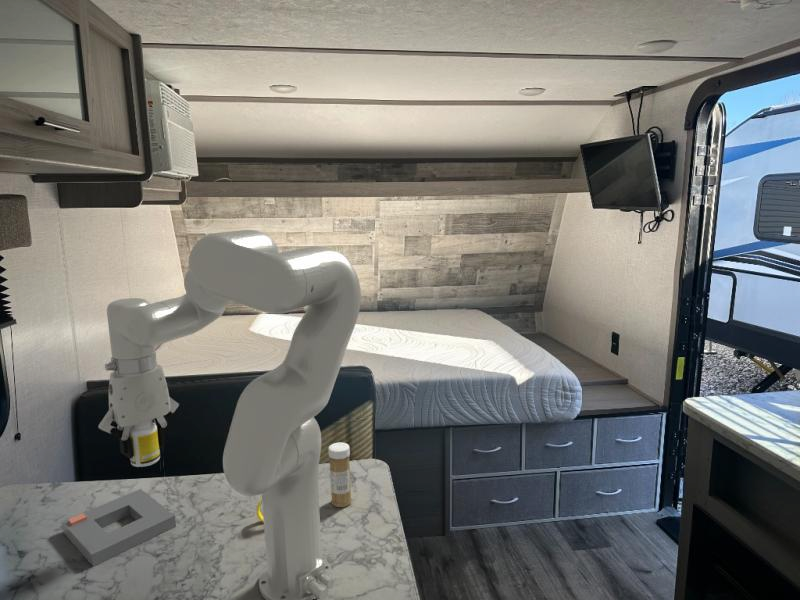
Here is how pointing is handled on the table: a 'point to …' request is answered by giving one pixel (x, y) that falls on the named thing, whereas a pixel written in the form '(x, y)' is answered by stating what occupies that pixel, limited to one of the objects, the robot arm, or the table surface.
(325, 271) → the robot arm
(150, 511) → the block with square hole
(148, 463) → the supplement bottle
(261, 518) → the watch
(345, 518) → the table surface
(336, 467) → the sprinkles bottle
